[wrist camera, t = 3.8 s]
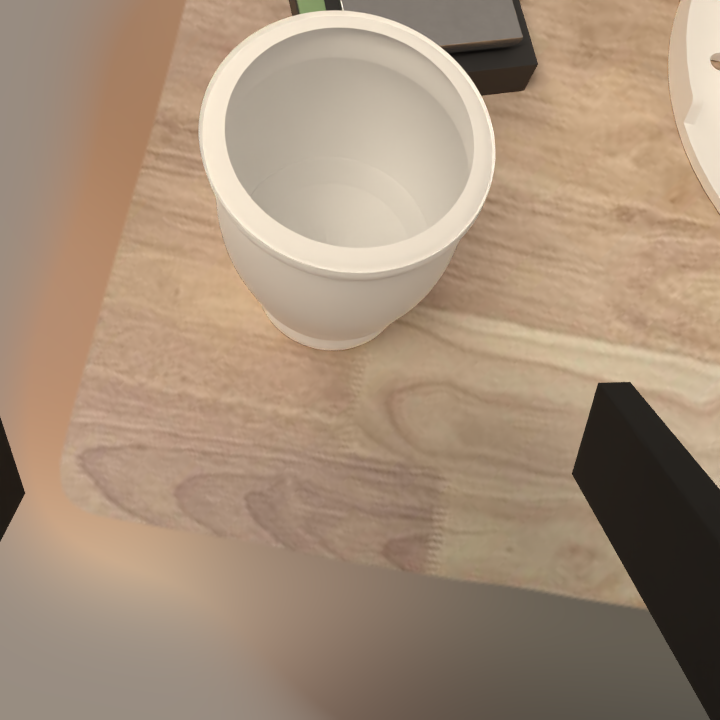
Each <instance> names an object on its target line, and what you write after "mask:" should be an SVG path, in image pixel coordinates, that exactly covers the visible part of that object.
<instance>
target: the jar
mask: <svg viewBox="0 0 720 720" xmlns="http://www.w3.org/2000/svg"><path fill="white" fill-rule="evenodd" d="M199 145H200V152H201V157H202V161H203V165H204V168H205V171H206V174H207V177H208V180H209V183H210V185H211V188H212V190H213V192H214V194H215V197H216V204H217V213H218V219H219V225H220V229H221V233H222V237H223V240H224V243H225V246H226V249H227V251H228V254H229V256H230V259H231V261H232V263H233V265H234V267H235V269H236V270H237V272H238V274H239V276H240V277H241V279H242V280H243V282H244V283H245V285H246V286H247V287H248V289H249V290H250V291H251V293H252V294H253V295H254V296H255V297H256V299H257V300H258V301H259V303H260V304H261V306H262V308H263V310H264V312H265V313H266V315H267V317H268V318H269V319H270V321H271V322H272V323H273V324H274V325H275V326H276V327H277V328H278V329H279V330H280V331H281V332H282V333H283V334H285V335H286V336H287V337H289V338H291V339H292V340H294V341H296V342H298V343H300V344H302V345H305V346H308V347H311V348H315V349H320V350H331V351H334V350H345V349H350V348H354V347H357V346H360V345H362V344H364V343H367V342H368V341H370V340H372V339H373V338H375V337H376V336H378V335H379V334H380V333H381V332H382V331H383V330H384V329H385V328H386V327H387V326H388V325H390V324H391V323H393V322H394V321H395V320H397V319H399V318H400V317H402V316H403V315H405V314H406V313H407V312H409V311H410V310H411V309H413V308H414V307H415V306H416V305H417V304H418V303H419V302H420V301H421V300H422V299H423V298H424V297H425V296H426V295H427V294H428V293H429V292H430V291H431V290H432V288H433V287H434V286H435V285H436V283H437V282H438V281H439V279H440V278H441V276H442V275H443V273H444V271H445V270H446V268H447V266H448V264H449V263H450V261H451V259H452V256H453V254H454V252H455V250H456V247H457V245H458V242H459V240H460V239H461V238H462V237H463V236H464V235H465V234H466V233H467V231H468V230H469V229H470V227H471V226H472V224H473V223H474V222H475V220H476V218H477V217H478V215H479V213H480V211H481V209H482V207H483V205H484V203H485V200H486V198H487V195H488V192H489V189H490V186H491V182H492V178H493V173H494V167H495V138H494V132H493V127H492V123H491V119H490V116H489V113H488V110H487V107H486V105H485V103H484V101H483V98H482V96H481V94H480V93H479V91H478V89H477V87H476V86H475V84H474V83H473V81H472V80H471V78H470V77H469V76H468V74H467V73H466V72H465V70H464V69H463V68H462V67H461V66H460V65H459V64H458V63H457V62H456V60H455V59H454V58H452V57H451V56H450V55H449V54H448V53H447V52H446V51H445V50H444V49H442V48H441V47H440V46H439V45H437V44H436V43H434V42H433V41H432V40H430V39H429V38H427V37H426V36H424V35H422V34H421V33H419V32H417V31H415V30H413V29H411V28H409V27H407V26H405V25H403V24H400V23H398V22H395V21H392V20H389V19H386V18H383V17H380V16H376V15H371V14H367V13H361V12H353V11H338V10H331V11H316V12H309V13H303V14H299V15H295V16H291V17H288V18H285V19H282V20H279V21H276V22H274V23H272V24H270V25H267V26H265V27H263V28H262V29H260V30H258V31H256V32H255V33H253V34H252V35H250V36H249V37H247V38H246V39H245V40H243V41H242V42H241V43H240V44H239V45H237V46H236V47H235V48H234V49H233V50H232V51H231V52H230V53H229V54H228V55H227V57H226V58H225V59H224V60H223V61H222V63H221V64H220V65H219V67H218V68H217V70H216V72H215V73H214V75H213V77H212V79H211V80H210V83H209V85H208V87H207V89H206V92H205V95H204V98H203V101H202V105H201V110H200V117H199Z"/></svg>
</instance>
